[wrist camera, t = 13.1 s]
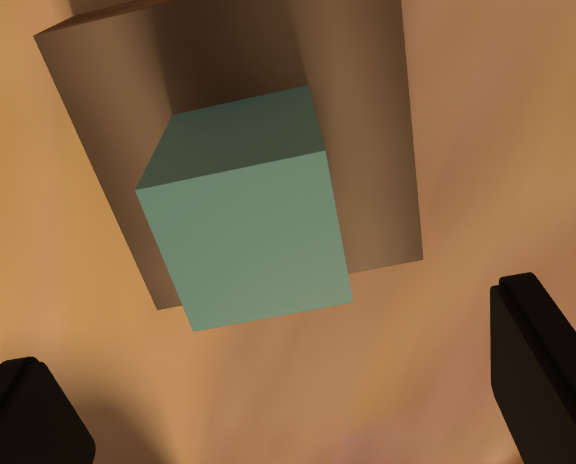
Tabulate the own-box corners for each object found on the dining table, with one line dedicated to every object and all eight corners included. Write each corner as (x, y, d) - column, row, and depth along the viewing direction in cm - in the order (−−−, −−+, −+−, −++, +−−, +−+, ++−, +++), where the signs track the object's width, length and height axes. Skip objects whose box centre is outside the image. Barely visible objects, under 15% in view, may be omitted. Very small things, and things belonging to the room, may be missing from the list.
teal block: (309, 84, 18) (325, 150, 13) (331, 206, 20) (353, 302, 15) (172, 115, 18) (134, 190, 13) (211, 230, 21) (193, 331, 16)
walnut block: (373, -57, 19) (396, -52, 16) (402, 213, 25) (423, 259, 22) (72, 16, 20) (33, 35, 17) (171, 259, 26) (157, 310, 23)
